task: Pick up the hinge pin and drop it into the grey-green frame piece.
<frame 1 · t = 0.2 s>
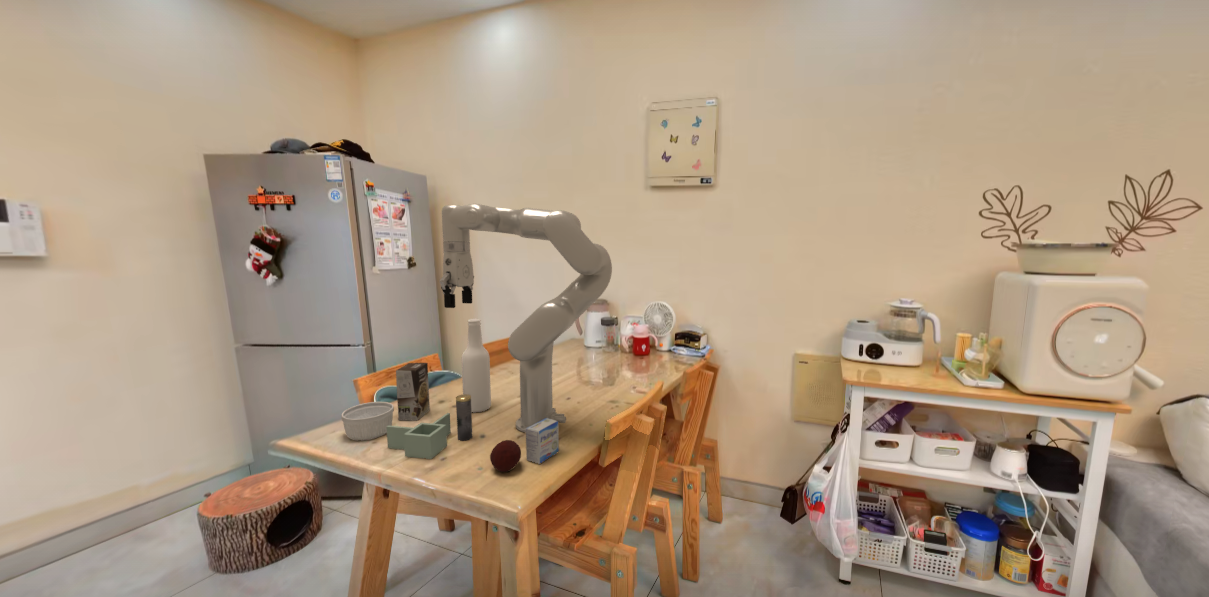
hand: (458, 305, 128), 36 cm above the table, tool pointing down, fingers open, 9 cm apart
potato: (506, 468, 105), on the table
medicine box: (542, 457, 110), on the table
coffee box: (414, 415, 137), on the table
hinge pin: (465, 437, 121), on the table
alcohol: (477, 408, 142), on the table
ramekin: (369, 433, 124), on the table
grey-green frame piece: (426, 451, 113), on the table
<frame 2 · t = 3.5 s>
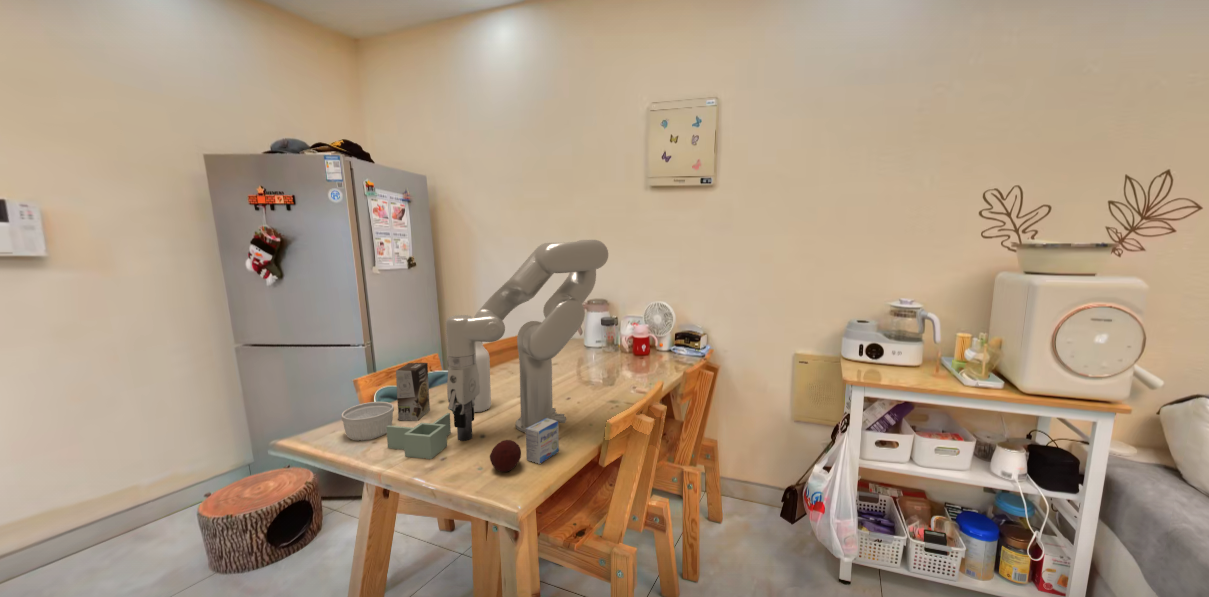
hand: (464, 423, 120), 4 cm above the table, tool pointing down, fingers closed on hinge pin, 4 cm apart
hinge pin: (465, 437, 121), on the table, touching gripper
everything else where it was.
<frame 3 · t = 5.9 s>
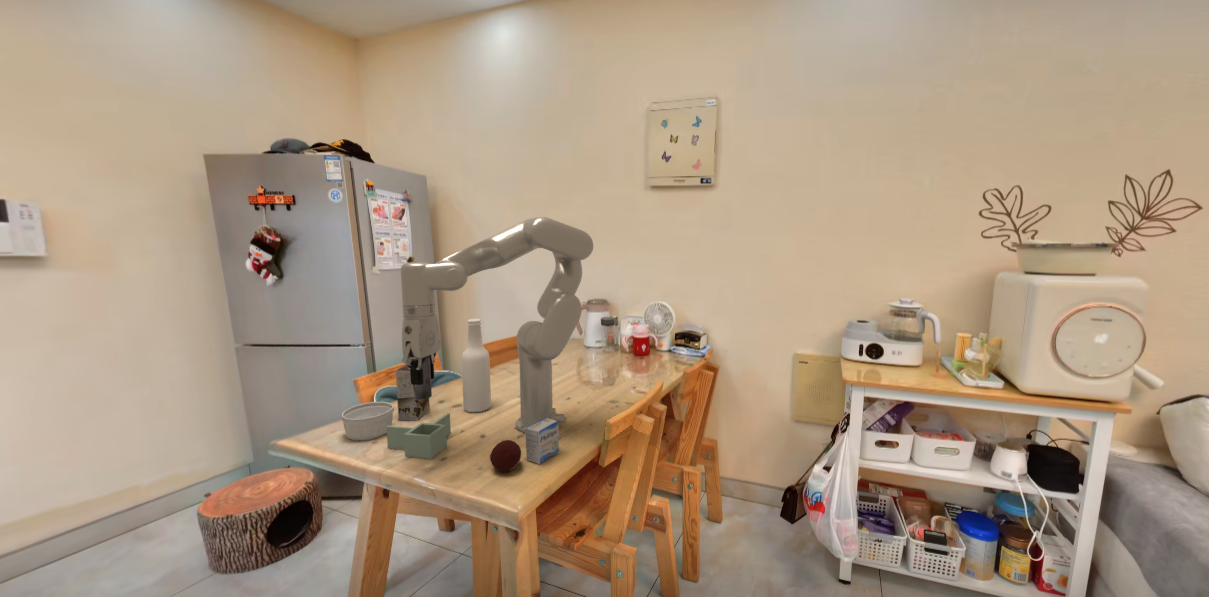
hand: (422, 380, 110), 19 cm above the table, tool pointing down, fingers closed on hinge pin, 4 cm apart
hinge pin: (423, 396, 111), point 15 cm above the table, touching gripper
everything else where it was.
when the fingers open (8 cm above the table, at t = 8.2 s): hinge pin drops 3 cm, resting in grey-green frame piece.
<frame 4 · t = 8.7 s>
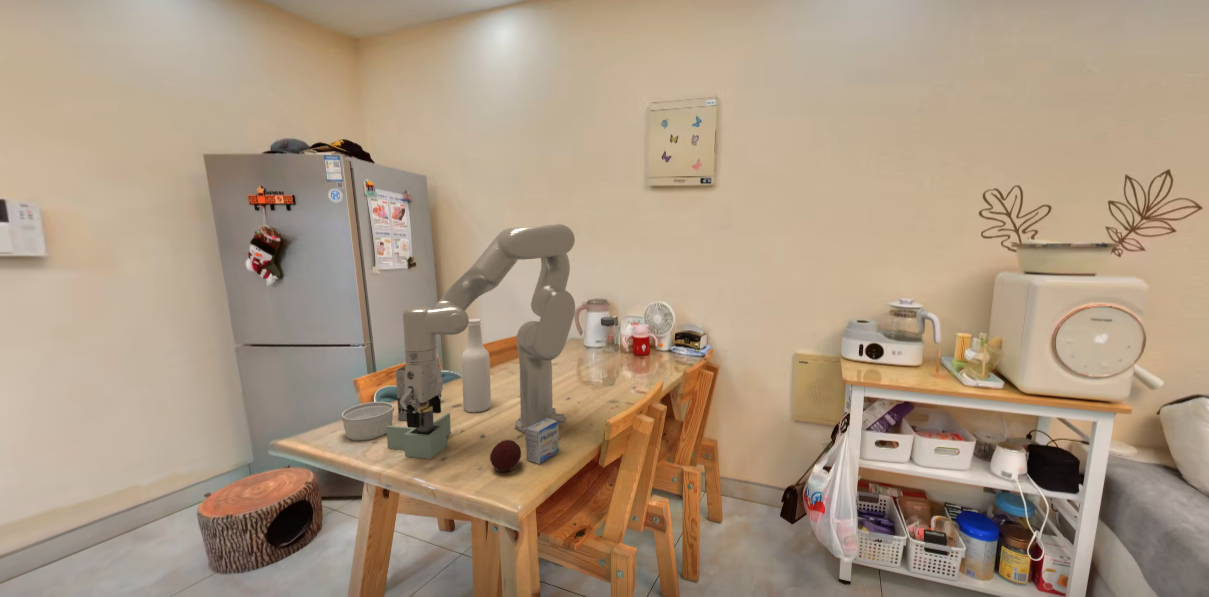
hand: (424, 419, 112), 9 cm above the table, tool pointing down, fingers open, 9 cm apart
hinge pin: (426, 451, 113), resting in grey-green frame piece
everything else where it was.
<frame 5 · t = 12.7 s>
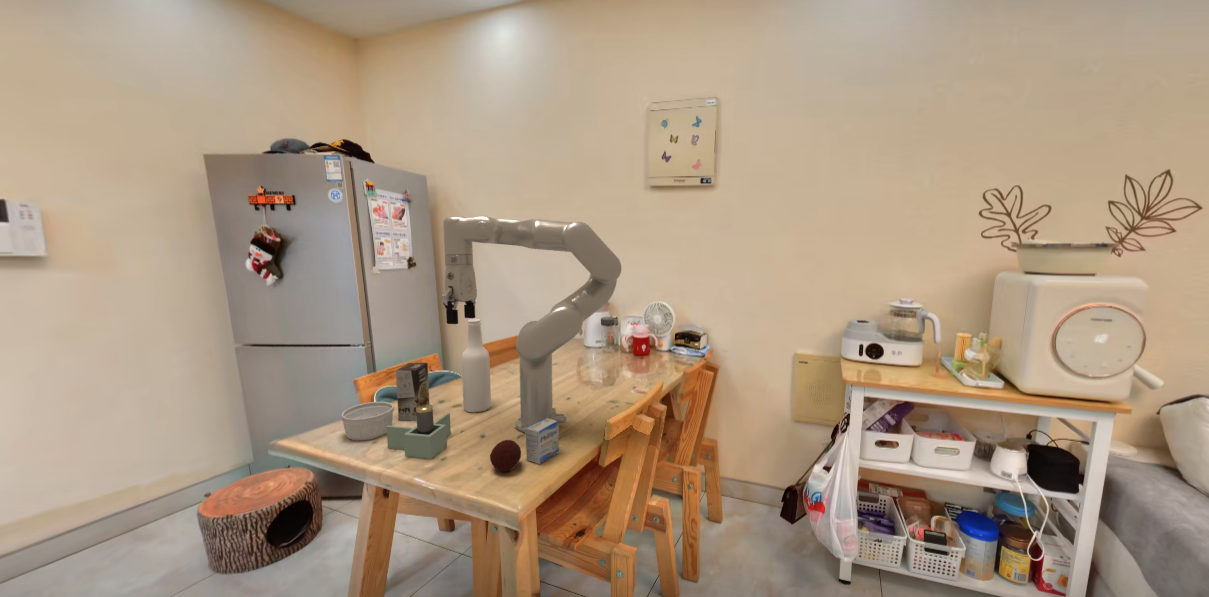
hand: (461, 320, 123), 32 cm above the table, tool pointing down, fingers open, 9 cm apart
nothing on the table moved.
at the end: hinge pin 0.1 cm off-centre on the grey-green frame piece, point 0.0 cm above the grey-green frame piece's base; hinge pin tilted 0°; the gripper is holding nothing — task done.
